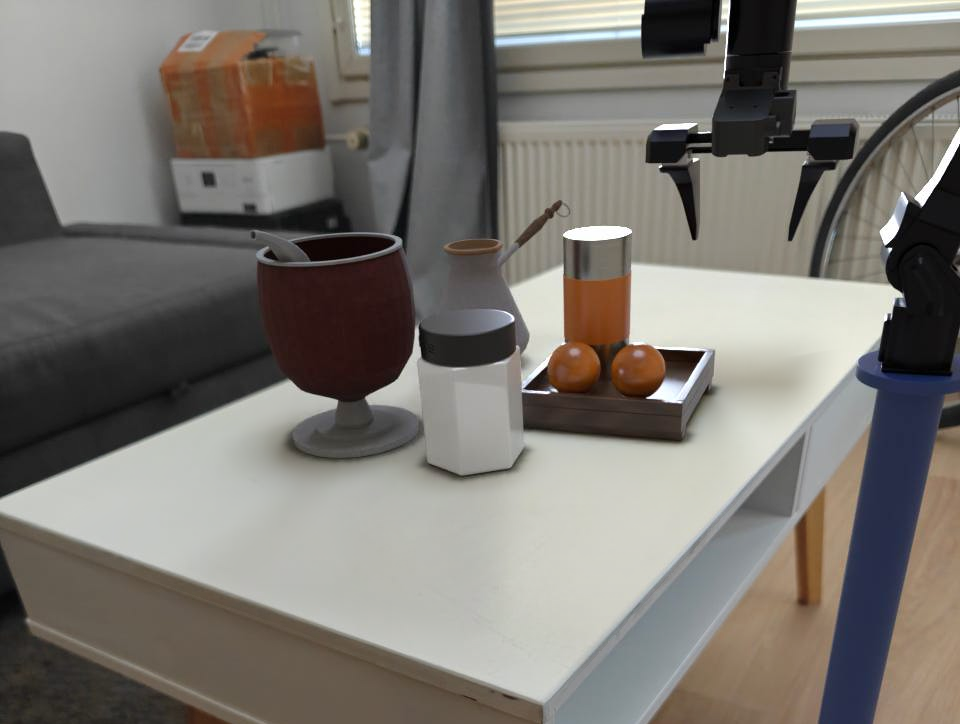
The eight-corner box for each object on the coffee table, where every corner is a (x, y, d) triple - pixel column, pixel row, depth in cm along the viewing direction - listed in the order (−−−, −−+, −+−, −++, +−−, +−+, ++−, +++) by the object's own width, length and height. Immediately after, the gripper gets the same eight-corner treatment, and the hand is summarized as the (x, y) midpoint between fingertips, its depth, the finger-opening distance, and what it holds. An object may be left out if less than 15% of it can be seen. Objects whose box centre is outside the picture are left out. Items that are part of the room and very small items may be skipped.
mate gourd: (350, 400, 98) (320, 194, 87) (455, 420, 91) (437, 199, 80) (243, 451, 88) (193, 226, 77) (352, 478, 81) (314, 234, 70)
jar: (449, 436, 88) (437, 306, 81) (531, 440, 86) (526, 307, 79) (416, 474, 81) (401, 335, 74) (505, 479, 79) (498, 337, 72)
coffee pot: (483, 386, 99) (473, 237, 91) (410, 369, 106) (395, 228, 98) (603, 337, 112) (604, 201, 103) (531, 324, 118) (526, 196, 110)
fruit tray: (712, 385, 95) (718, 310, 91) (680, 443, 83) (685, 360, 79) (564, 376, 100) (563, 305, 96) (513, 429, 88) (509, 351, 84)
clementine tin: (606, 356, 97) (607, 223, 90) (641, 372, 92) (646, 232, 85) (552, 368, 95) (549, 233, 88) (586, 385, 90) (586, 243, 83)
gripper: (633, 65, 79) (628, 257, 88) (864, 52, 73) (834, 260, 82) (662, 57, 88) (655, 233, 97) (871, 45, 81) (844, 234, 90)
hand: (741, 240), depth 91 cm, fingers open, 9 cm apart
